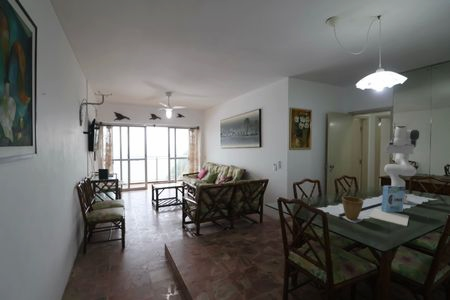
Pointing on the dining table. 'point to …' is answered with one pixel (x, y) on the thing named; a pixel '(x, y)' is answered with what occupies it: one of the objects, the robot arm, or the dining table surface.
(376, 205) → the dining table surface
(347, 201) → the plant pot
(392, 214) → the white flat board
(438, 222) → the dining table surface
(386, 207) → the gum box
